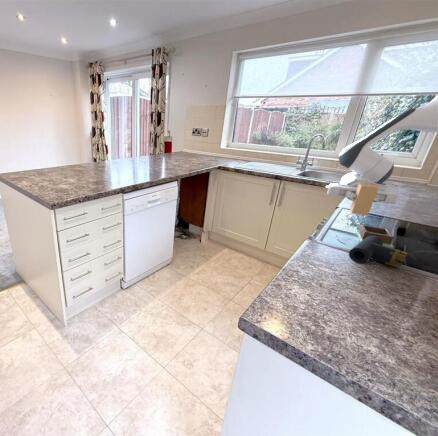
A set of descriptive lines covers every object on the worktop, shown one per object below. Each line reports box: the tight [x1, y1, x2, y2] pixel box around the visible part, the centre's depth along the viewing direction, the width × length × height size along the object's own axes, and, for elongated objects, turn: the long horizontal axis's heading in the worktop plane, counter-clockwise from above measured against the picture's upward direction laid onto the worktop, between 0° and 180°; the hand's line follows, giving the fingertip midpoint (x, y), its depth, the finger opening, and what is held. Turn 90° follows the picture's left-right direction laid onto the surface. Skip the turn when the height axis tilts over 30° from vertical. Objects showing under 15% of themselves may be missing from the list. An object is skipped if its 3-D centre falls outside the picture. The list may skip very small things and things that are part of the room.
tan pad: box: [349, 183, 378, 216], centre depth 86 cm, size 4×4×10 cm
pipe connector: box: [348, 236, 408, 269], centre depth 79 cm, size 12×5×15 cm
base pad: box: [354, 223, 395, 249], centre depth 92 cm, size 12×9×4 cm
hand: (364, 198), depth 85 cm, fingers closed on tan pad, 4 cm apart
